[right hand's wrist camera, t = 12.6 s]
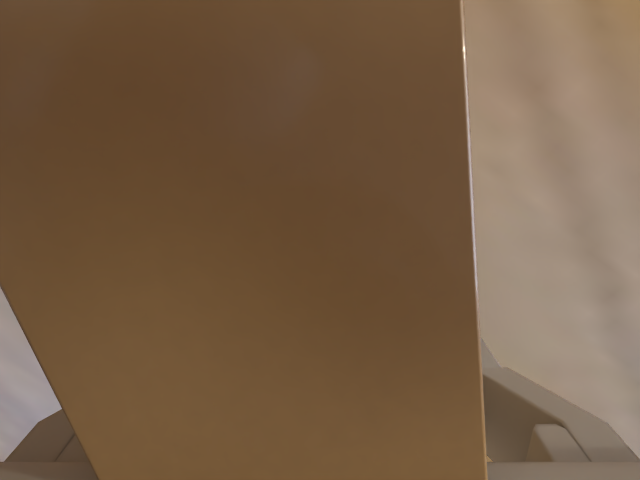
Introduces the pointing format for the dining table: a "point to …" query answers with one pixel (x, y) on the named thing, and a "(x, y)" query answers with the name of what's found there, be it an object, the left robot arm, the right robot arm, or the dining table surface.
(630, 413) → the dining table surface
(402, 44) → the bar
